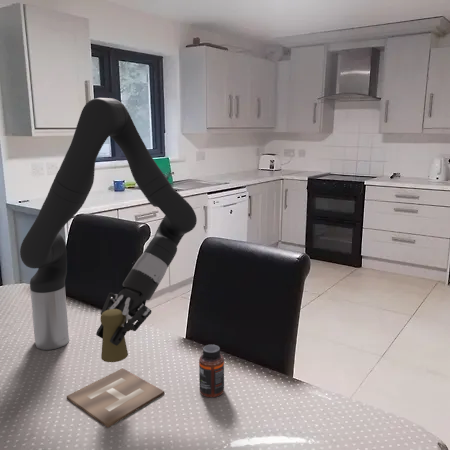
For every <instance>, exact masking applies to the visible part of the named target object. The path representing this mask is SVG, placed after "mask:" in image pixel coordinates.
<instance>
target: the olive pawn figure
mask: <svg viewBox="0 0 450 450" xmlns="http://www.w3.org/2000/svg"><path fill="white" fill-rule="evenodd" d="M122 313H123V312H122V311H121V310H118V309H117V308H116V309H109V308H108V309H107V310H106V311H104V312H103V313H102V315H101V314H100V325H101V324H102V325H103V326H104V327H103V339H102V343H101V360H102V361H103V362H106V363H117V362H121V361H123V360H125V359H126V358H127V357H128V355H129V353H128V347H127V343H126V342H127V341H126V338H125V336H124V338H123V339H122V341H121V342H120V343H119V344H118V345H117V346H116V345H114V344H112V343H111V342H110V339H111V338H112V336H113V335H114V333H115V331H116V330H117V328H118V327H120V324H121V322H122V320H123V316H122Z"/></svg>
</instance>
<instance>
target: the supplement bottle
mask: <svg viewBox="0 0 450 450" xmlns="http://www.w3.org/2000/svg"><path fill="white" fill-rule="evenodd" d="M198 363H199V364H198V366H199V367H198V369H199V370H198V371H199V373H198V374H199V375H198V378H199V393H200V395H202V396H204V397H206V398H217V397H220V396H221V395H222V394H223V393H224V391H225V358H224V356H223V354H222V353H221V347H220V346H219V345H216V344H206V345H205V346H203V348H202V354H201V355H200V357H199V359H198Z"/></svg>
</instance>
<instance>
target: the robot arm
mask: <svg viewBox="0 0 450 450" xmlns="http://www.w3.org/2000/svg"><path fill="white" fill-rule="evenodd" d="M109 137H111V139H112V140H113V141H114V142H115V143H116V144H117V146H118V147H119V148H120V149H121V151H122V153H123V155H124V156H125V159H126V161H127V163H128V164H127V165H128V166H129V169H130V173H131V174H132V177H133V180H134V181H135V183H136V185H137V187H138V188H139V189H140V191H141V192H142V194H143V195H144V197H145V198H146V199H147V202H149V204H151V206H152V207H155V208H159V210H160V211H161V212H162V213H163V214H164V217H163V218H162V219H161V221H160V224H159V225H158V227H157V229H156V232H155V233H154V236H153V238H152V239H151V240H150V242H149V243H148V244H147V246H146V248H145V249H144V251H143V253H142V254H141V255H140V256H139V258H138V259H137V260H136V262H135V263H134V265H133V266H132V268H131V270H130V271H129V272H128V274H127V276H126V277H125V279H124V281H123V282H122V289H121V291H119V293H118V294H117V293H114V292H111V291H110V292H108V294H107V298H106V300H105V301H104V304H103V307H102V310H101V311H100V316H101V315H102V313H103V312H104V311H106V310H109V309H118V310H121V311H122V312H123V313H122V316H123V320H122V322H121V324H120V327H118V328H117V330H116V331H115V333H114V335H113V336H112V338H111V339H110V342H111V343H112V344H114V345H116V346H117V345H118V344H119V343H120V342H121V341H122V339H123V338H124V337H125V335H126V334H127V332H130V331H133V332H136V331H137V330H138V329H139V328H140V326H141V325H143V323H144V322H145V321H146V319H147V318H149V316H150V315H151V314H152V312H153V311H152V310H151V308H150V307H148V306H147V305H146V302H147V301H150V300H151V299H152V297H153V295H154V294H155V292H156V291H157V289H158V287H159V285H160V284H161V282H162V280H163V279H164V277H165V275H166V273H167V270H168V269H169V266H170V265H171V264H172V262H173V260H174V257H175V256H176V255H177V251H178V245H179V244H180V242H181V240H182V239H183V237H184V236H185V234H188V233H190V232H192V230H194V229H195V227H196V225H197V223H198V222H197V220H198V219H197V215H196V212H195V210H194V208H193V207H192V205H190V203H189V202H188V201H187V200H186V199H185V198H184V197H183V196H182V195H181V194H180V193H179V192H177V191H176V189H174V187H173V186H172V185H171V183H170V181H169V180H168V178H167V177H166V176H165V174H164V172H162V170H161V168H160V167H159V165H158V164H157V162H156V161H155V159H154V158H153V156H152V155H151V152H150V151H149V149H148V148H147V146H146V145H145V142H144V141H143V139H142V137H141V135H140V133H139V131H138V129H137V128H136V125H135V124H134V121H133V119H132V116H131V115H130V113H129V111H128V108H126V106H125V104H124V103H122V102H121V101H119V99H115V98H113V97H112V98H111V97H109V98H108V97H97V98H92V99H90V100H89V101H87V103H86V104H85V105H84V106H83V108H82V110H81V112H80V116H79V118H78V122H77V124H76V127H75V131H74V134H73V137H72V140H71V143H70V145H69V147H68V149H67V151H66V153H65V156H64V158H63V160H62V162H61V165H60V167H59V168H58V171H57V173H56V175H55V177H54V180H53V182H52V184H51V186H50V188H49V191H48V193H47V195H46V196H45V197H46V198H45V200H44V202H43V203H42V206H41V208H40V210H39V212H38V214H37V217H36V218H35V220H34V222H33V224H32V225H31V227H30V228H29V230H28V232H27V234H26V235H25V237H23V240H22V242H21V245H20V248H19V256H20V259H21V262H22V263H23V265H25V266H26V267H28V268H30V269H37V270H36V272H35V274H34V275H33V276H32V277H31V278H30V281H29V287H30V288H29V289H30V299H31V300H30V301H31V309H32V312H31V314H32V324H33V325H32V327H33V334H34V342H35V343H34V344H35V347H36V348H37V349H38V350H43V351H46V350H47V351H48V350H55V349H56V350H57V349H59V348H61V347H64V346H66V345H67V344H68V343H69V341H70V337H69V323H68V322H69V321H68V308H67V296H66V278H67V276H68V275H67V273H68V257H67V255H68V254H67V245H66V242H65V239H64V237H63V236H62V235H61V234H60V231H62V229H63V228H64V227H65V225H67V224H68V223H69V221H71V219H72V218H73V217H74V216H75V215H76V214H77V213H78V211H80V210H81V209H82V207H83V205H84V204H85V202H86V199H87V198H88V196H89V194H90V192H91V190H92V188H93V185H94V181H95V171H96V169H95V168H96V167H95V165H96V160H97V158H98V155H99V153H100V151H101V149H103V148H102V147H103V146H104V144H105V142H106V141H107V140H108V138H109ZM103 327H104V326H103V325H102V324H101V323H100V326H99V327H98V328H97V331H96V334H95V335H96V337H99V338H101V339H102V340H103Z"/></svg>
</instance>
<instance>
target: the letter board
mask: <svg viewBox="0 0 450 450" xmlns="http://www.w3.org/2000/svg"><path fill="white" fill-rule="evenodd" d="M163 395H165V391H164V390H163V389H161V388H159V387H158V386H156V385H154V384H153V383H150V382H148V381H146V380H145V379H143V378H141V377H140V376H137V375H135V374H134V373H132V372H130V371H128V370H126V369H125V368H120V369H117V370H116V371H114V372H112V373H110V374H107V375H106V376H104V377H102V378H100V379H98V380H96V381H94V382H91V383H90V384H88V385H86V386H84V387H82V388H80V389H77V390H76V391H74V392H72V393H70V394H68V395H66V399H67V400H68V401H70V402H71V403H73V404H74V405H76V406H77V407H78V408H79V409H81V410H82V411H84V412H85V413H86V414H88V415H89V416H90V417H92V418H94V419H95V420H96V421H98V422H99V423H101V424H102V425H103V426H105V427H106V428H111V426H113V425H115V424H116V423H118V422H120V421H122V420H124V419H125V418H126V417H128V416H130V415H132V414H133V413H135V412H136V411H138V410H139V409H141V408H143V407H145V406H146V405H148V404H149V403H151V402H153V401H154V400H157V399H158V398H159V397H161V396H163Z"/></svg>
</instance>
